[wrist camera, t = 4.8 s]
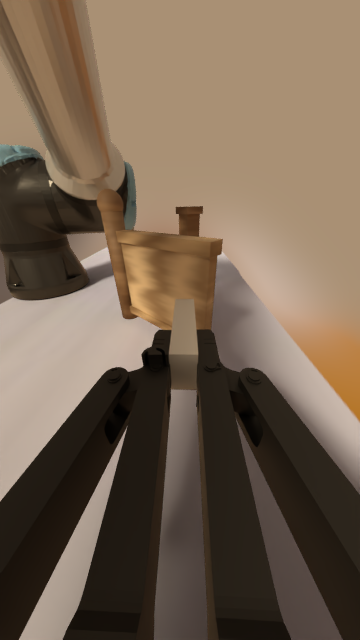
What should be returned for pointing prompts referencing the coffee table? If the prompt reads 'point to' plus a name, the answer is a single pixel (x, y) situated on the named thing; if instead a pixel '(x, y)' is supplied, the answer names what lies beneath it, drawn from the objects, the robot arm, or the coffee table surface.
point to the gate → (169, 274)
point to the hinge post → (115, 244)
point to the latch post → (189, 220)
